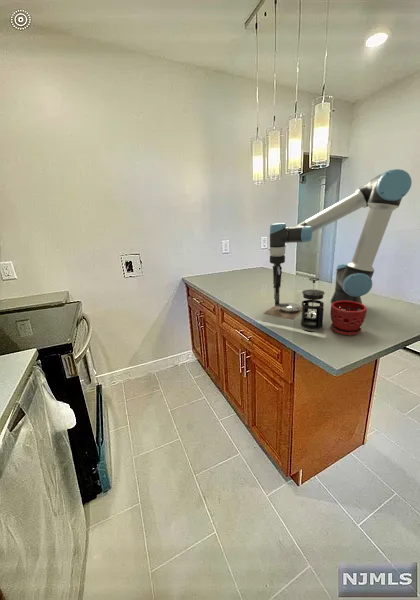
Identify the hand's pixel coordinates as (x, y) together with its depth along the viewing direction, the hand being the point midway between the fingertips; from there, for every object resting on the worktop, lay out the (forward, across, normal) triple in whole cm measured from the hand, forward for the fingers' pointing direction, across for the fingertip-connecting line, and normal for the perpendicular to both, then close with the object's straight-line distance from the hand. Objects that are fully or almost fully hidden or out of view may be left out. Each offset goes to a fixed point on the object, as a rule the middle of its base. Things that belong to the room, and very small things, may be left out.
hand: (276, 298), depth 133 cm
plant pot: (+6, +28, +25) cm, 38 cm away
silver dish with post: (+5, +3, +5) cm, 8 cm away
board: (+7, +5, +4) cm, 9 cm away
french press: (+7, +24, +12) cm, 27 cm away
